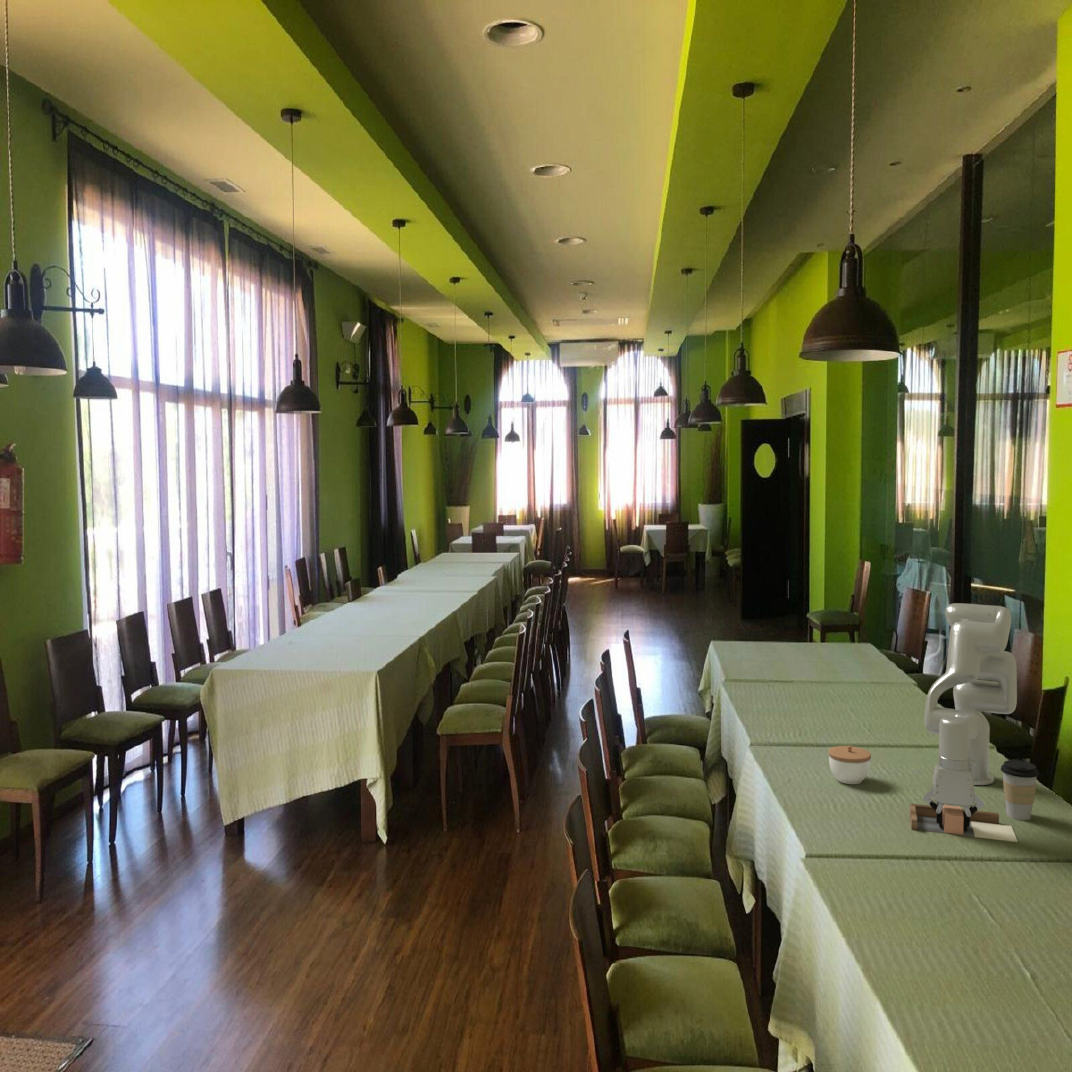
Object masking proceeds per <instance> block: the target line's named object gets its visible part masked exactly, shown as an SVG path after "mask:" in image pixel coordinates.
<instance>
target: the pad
mask: <svg viewBox="0 0 1072 1072" xmlns="http://www.w3.org/2000/svg"><path fill="white" fill-rule="evenodd" d="M971 825H972V829H973V832H974V836H975V837H974V838H978V837H979V839H986V838H987V840H988V839H989V840H994V839H996V840H995V841H1002V840H1004V842H1011V841H1012V843H1018V842H1017V840H1018V838H1017V836H1015V835H1016V833H1015V830H1014V828H1013V826H1012V825H1007V824H1000V823H999V824H991V823H982V822H974V821H971ZM1013 830H1014V831H1013ZM1016 838H1017V839H1016Z"/></svg>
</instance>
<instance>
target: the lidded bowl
mask: <svg viewBox="0 0 1072 1072" xmlns="http://www.w3.org/2000/svg"><path fill="white" fill-rule="evenodd" d="M871 759H872V753H871V752H870V751H868V750H867V749H865V748H863V747H857V746H852V745H837V746H833V747H831V748H829V749H828V763H829V767H830V768H829V769H830V771H831V772H832V775H833V776H834V777H835V778H836V780H837V781H838V782H840V783H842V784H845V785H859V784H862V781H863V780H865V779H866V778H867V777H868V776H869V773H870V769H871Z"/></svg>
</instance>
